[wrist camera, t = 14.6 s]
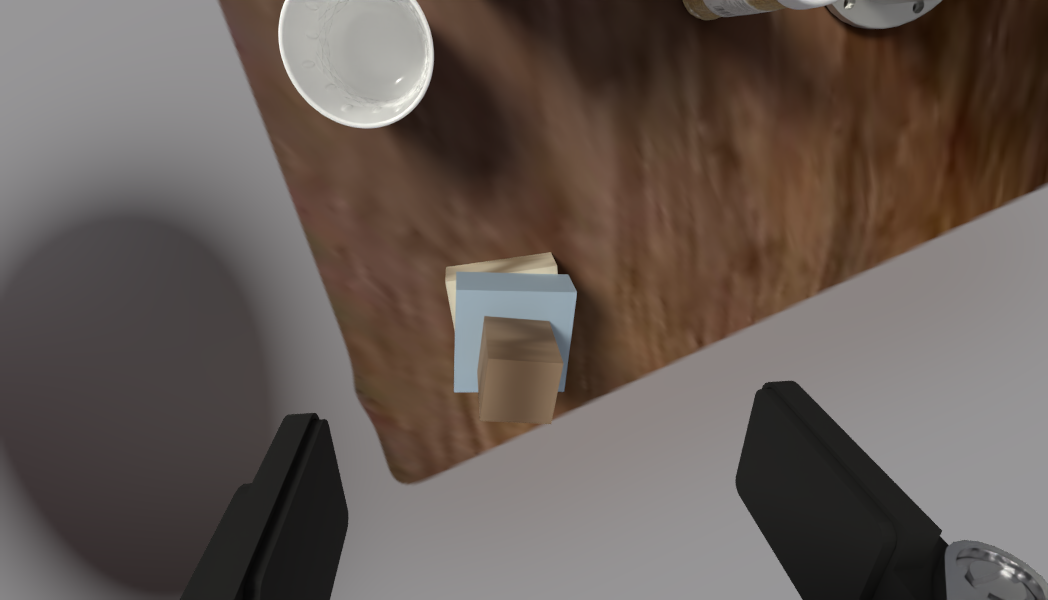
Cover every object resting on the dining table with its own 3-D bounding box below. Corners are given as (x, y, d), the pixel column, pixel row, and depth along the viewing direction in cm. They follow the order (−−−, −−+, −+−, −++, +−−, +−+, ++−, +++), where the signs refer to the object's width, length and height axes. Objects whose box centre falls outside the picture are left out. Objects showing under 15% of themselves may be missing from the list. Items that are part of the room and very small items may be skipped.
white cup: (436, -14, 35) (428, -37, 26) (442, 110, 38) (438, 128, 29) (315, -17, 34) (263, -42, 25) (333, 110, 37) (293, 128, 28)
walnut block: (549, 321, 39) (563, 363, 34) (539, 375, 41) (550, 423, 36) (484, 316, 38) (488, 358, 33) (477, 372, 40) (479, 420, 35)
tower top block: (568, 274, 42) (577, 292, 38) (556, 368, 45) (564, 391, 42) (456, 271, 40) (456, 289, 37) (454, 368, 44) (453, 392, 41)
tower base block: (549, 250, 44) (557, 265, 41) (557, 339, 48) (564, 359, 45) (446, 265, 44) (445, 281, 41) (462, 354, 48) (463, 375, 45)
